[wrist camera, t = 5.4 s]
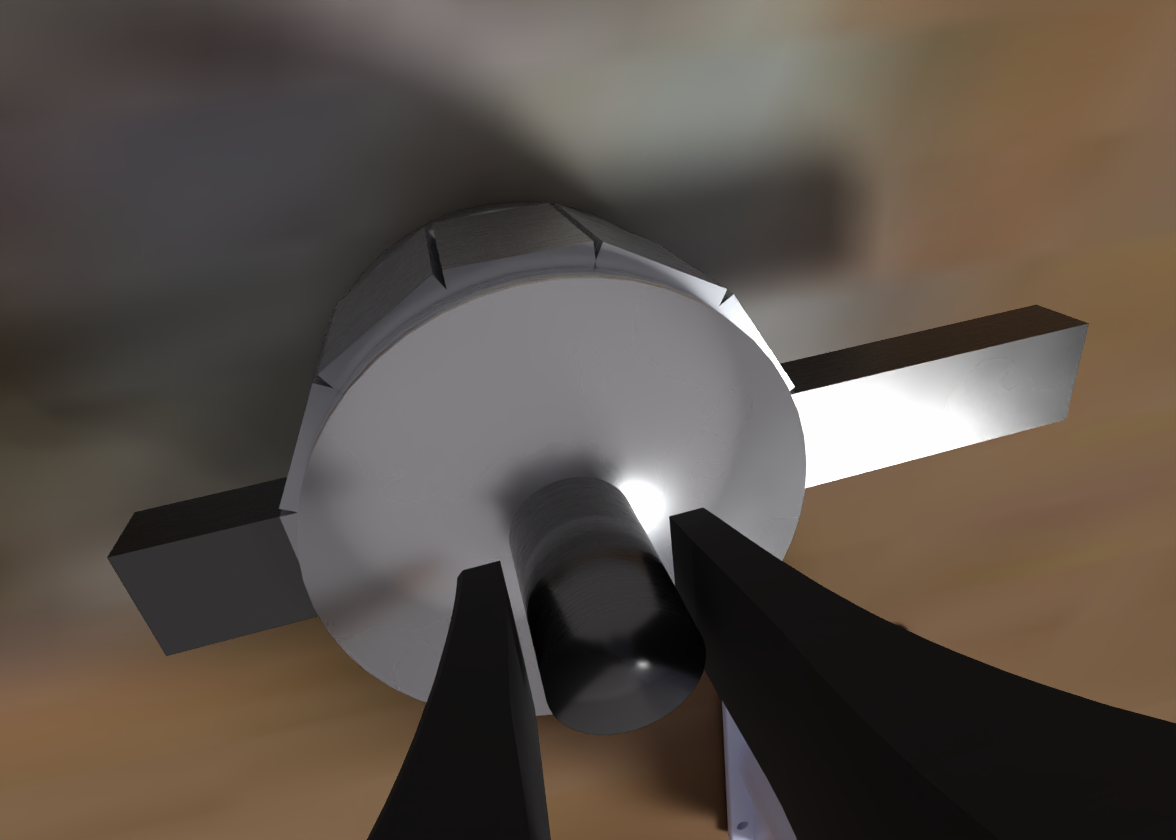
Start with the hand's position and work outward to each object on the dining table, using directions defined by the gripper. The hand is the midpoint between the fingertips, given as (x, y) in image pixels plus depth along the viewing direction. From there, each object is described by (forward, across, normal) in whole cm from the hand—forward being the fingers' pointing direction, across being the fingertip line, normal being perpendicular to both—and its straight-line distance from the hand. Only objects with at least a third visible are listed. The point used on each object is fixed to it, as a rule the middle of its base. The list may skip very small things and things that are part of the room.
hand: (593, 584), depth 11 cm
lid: (+3, 0, 0) cm, 3 cm away
